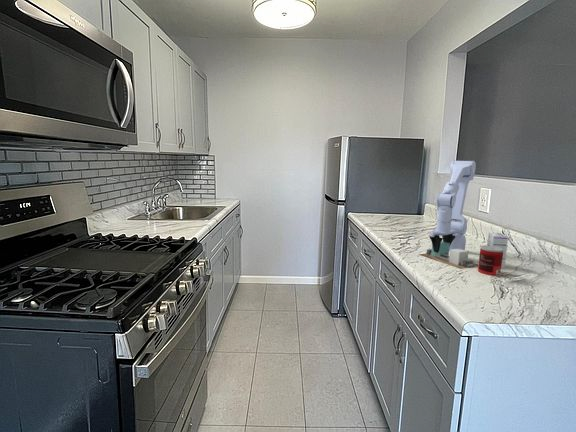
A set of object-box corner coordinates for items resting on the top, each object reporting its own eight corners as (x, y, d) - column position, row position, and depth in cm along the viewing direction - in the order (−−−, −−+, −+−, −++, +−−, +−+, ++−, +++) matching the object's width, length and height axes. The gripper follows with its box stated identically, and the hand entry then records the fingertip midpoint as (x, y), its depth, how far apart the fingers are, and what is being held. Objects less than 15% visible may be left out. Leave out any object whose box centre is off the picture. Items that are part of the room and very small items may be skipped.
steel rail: (432, 252, 159) (432, 248, 159) (473, 266, 141) (473, 261, 140) (425, 253, 157) (425, 249, 157) (466, 267, 139) (466, 262, 138)
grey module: (457, 260, 148) (459, 248, 147) (467, 263, 144) (468, 251, 143) (448, 262, 145) (450, 249, 144) (458, 265, 141) (459, 252, 140)
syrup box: (504, 270, 139) (509, 236, 137) (488, 269, 141) (493, 235, 138) (499, 266, 145) (503, 233, 142) (483, 265, 146) (488, 232, 144)
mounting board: (436, 254, 161) (437, 251, 161) (480, 268, 142) (480, 265, 142) (417, 256, 156) (418, 254, 156) (460, 271, 137) (460, 268, 137)
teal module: (440, 252, 156) (441, 241, 155) (448, 255, 152) (449, 243, 151) (431, 254, 153) (432, 242, 152) (439, 256, 149) (440, 244, 148)
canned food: (497, 273, 136) (500, 246, 134) (502, 279, 129) (506, 251, 127) (475, 270, 138) (478, 244, 137) (479, 277, 131) (482, 249, 129)
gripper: (447, 218, 156) (444, 247, 159) (424, 220, 150) (421, 250, 152) (461, 221, 150) (458, 251, 152) (437, 223, 144) (434, 254, 146)
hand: (440, 251), depth 152 cm, fingers closed on teal module, 5 cm apart
